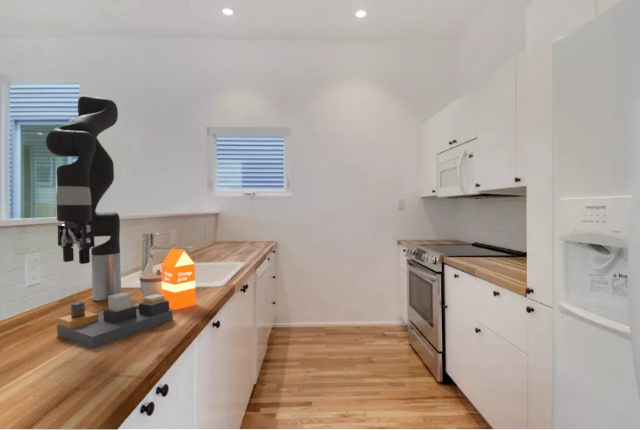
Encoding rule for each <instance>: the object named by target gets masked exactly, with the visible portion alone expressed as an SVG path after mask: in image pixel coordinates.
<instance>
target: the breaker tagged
mask: <svg viewBox="0 0 640 430" xmlns="http://www.w3.org/2000/svg"><path fill="white" fill-rule="evenodd" d="M164 300H165V297H164V295H159V294H154V295H150V296H147V297H145V296H143V299H142V302H144V304H148V305H154V304H158V303H161V302H164Z"/></svg>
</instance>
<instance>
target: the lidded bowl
mask: <svg viewBox="0 0 640 430" xmlns="http://www.w3.org/2000/svg"><path fill="white" fill-rule="evenodd" d="M139 281H140V283H139V285H140V291H141V293H142V295H143V297H147V296H150V295H154V294H159V295H162V271H161V269H157V270H156V272H150V273H146V274H143V275H140V276H139Z"/></svg>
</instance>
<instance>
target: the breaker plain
mask: <svg viewBox="0 0 640 430" xmlns="http://www.w3.org/2000/svg"><path fill="white" fill-rule="evenodd" d="M107 301H108V302H107V303H108V308H109V310H110V311H114V312H118V311H121V310H125V309H128V308H131V304H132V294H131V293H127V292H121V293H118V294H114V295H110V296H108V300H107Z"/></svg>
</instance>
